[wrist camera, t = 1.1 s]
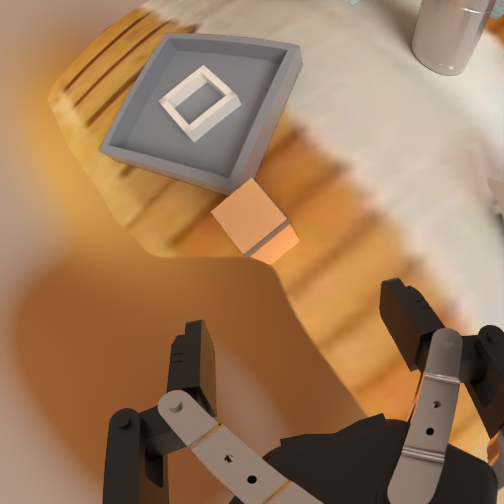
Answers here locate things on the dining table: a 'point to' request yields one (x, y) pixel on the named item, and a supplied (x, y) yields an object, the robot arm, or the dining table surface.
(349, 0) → the l-shaped corner panel
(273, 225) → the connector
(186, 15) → the dining table surface
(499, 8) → the teal tapered cup
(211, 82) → the walled box
